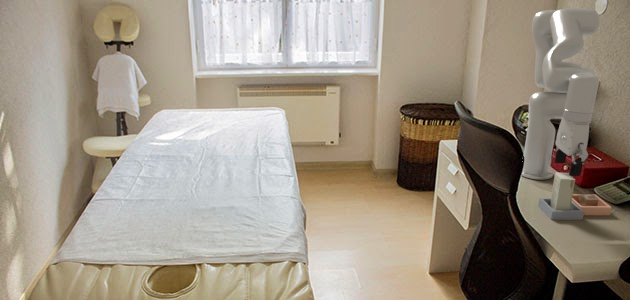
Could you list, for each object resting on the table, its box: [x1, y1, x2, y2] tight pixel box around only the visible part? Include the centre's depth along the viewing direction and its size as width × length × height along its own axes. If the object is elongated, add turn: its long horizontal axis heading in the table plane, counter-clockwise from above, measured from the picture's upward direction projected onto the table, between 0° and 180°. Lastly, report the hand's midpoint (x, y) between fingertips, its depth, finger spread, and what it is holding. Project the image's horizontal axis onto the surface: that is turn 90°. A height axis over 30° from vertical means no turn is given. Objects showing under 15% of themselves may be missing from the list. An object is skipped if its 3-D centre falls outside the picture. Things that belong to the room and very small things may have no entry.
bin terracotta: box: [572, 193, 612, 216], centre depth 159 cm, size 10×10×4 cm
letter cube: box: [578, 193, 598, 206], centre depth 159 cm, size 4×4×4 cm
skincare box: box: [550, 171, 576, 210], centre depth 155 cm, size 6×4×12 cm
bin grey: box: [537, 197, 585, 221], centre depth 156 cm, size 10×10×4 cm
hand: (566, 169), depth 153 cm, fingers open, 9 cm apart
